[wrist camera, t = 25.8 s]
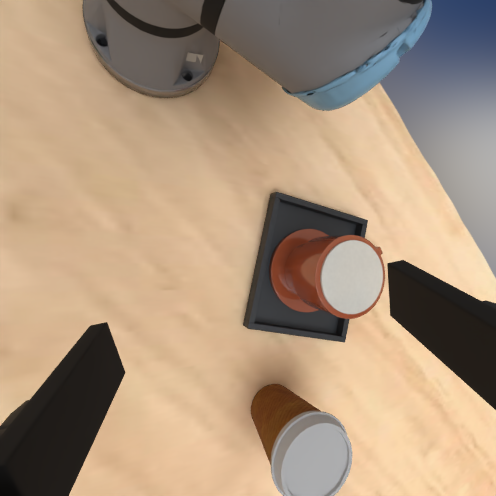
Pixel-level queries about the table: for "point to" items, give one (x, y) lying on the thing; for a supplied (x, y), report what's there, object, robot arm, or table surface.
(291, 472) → the disposable coffee cup
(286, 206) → the drip tray
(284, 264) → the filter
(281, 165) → the table surface
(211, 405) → the table surface
